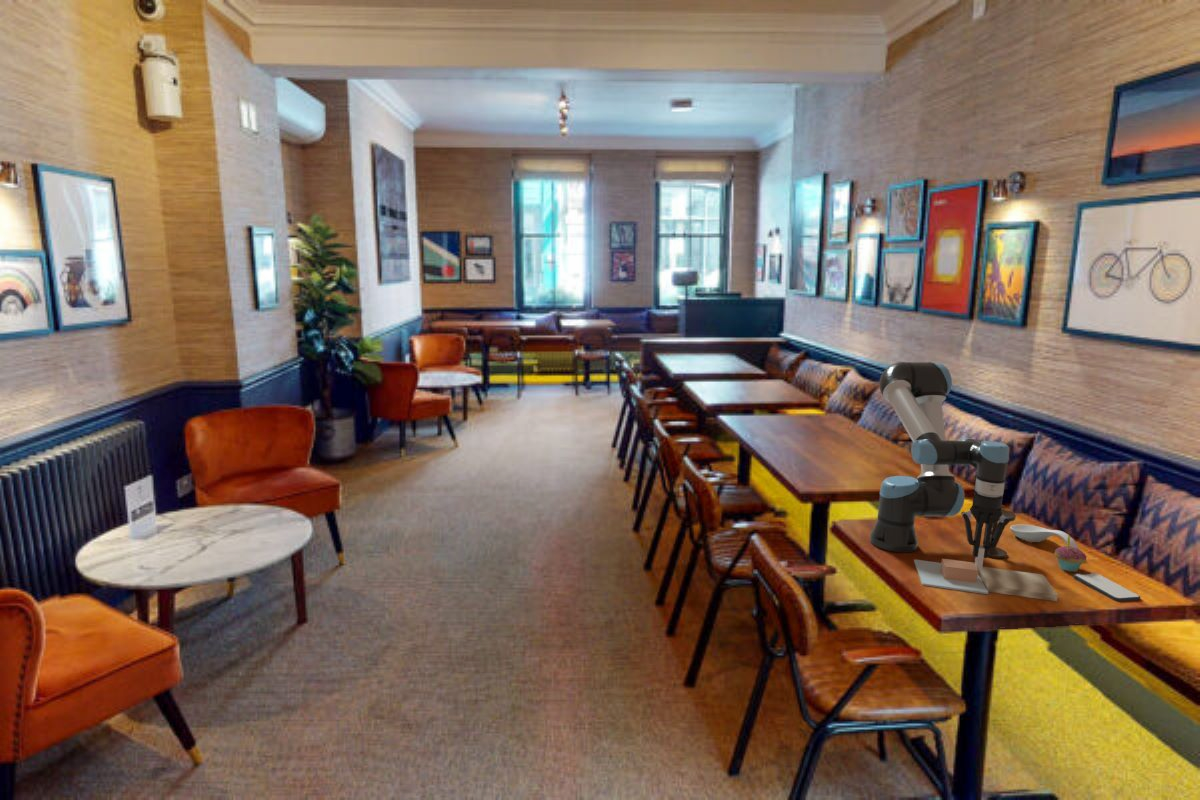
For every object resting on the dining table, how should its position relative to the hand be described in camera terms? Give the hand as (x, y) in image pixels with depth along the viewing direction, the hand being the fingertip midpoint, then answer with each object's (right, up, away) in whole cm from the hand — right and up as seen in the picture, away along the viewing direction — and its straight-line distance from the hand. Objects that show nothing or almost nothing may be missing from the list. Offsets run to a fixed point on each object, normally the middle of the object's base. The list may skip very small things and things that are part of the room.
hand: (978, 566), depth 209 cm
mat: (-7, -4, +3) cm, 9 cm away
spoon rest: (+39, 0, +29) cm, 49 cm away
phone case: (+37, -7, -2) cm, 38 cm away
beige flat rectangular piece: (+10, -5, -2) cm, 11 cm away
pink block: (-5, -4, +2) cm, 7 cm away
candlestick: (+16, -1, +21) cm, 27 cm away
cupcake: (+35, -3, +11) cm, 37 cm away
